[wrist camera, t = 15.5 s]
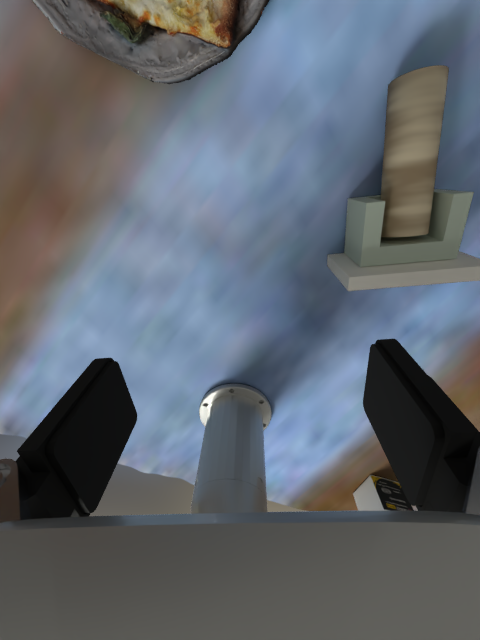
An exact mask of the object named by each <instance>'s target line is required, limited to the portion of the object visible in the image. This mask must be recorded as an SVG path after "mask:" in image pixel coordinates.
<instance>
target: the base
mask: <svg viewBox="0 0 480 640" xmlns="http://www.w3.org/2000/svg"><path fill="white" fill-rule="evenodd" d="M327 266H328V267H329V269H330V270H331V271H332V272H333V273H334V275H335V276H336V277H337V278H338V279H339V281H340V282H341V283H342V284H343V286H344V287H345V288H346V289H347V290H348V291H355V290H368V289H380V288H392V287H405V286H417V285H429V284H442V283H454V282H466V281H479V280H480V259H479V258H476V257H474V256H471V255H468V254H465V253H463V252H460V251H458V255H457V259H447V260H435V261H424V262H412V263H401V264H389V265H378V266H367V267H360V266H358V265H357V264H356V263H355V262H354V261H353V260H351V259H350V258H349V257H348V256H347V255H346V254H344V253H340V254H329V255H328V258H327Z"/></svg>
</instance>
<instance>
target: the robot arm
mask: <svg viewBox="0 0 480 640" xmlns="http://www.w3.org/2000/svg"><path fill="white" fill-rule="evenodd" d="M363 406H364V410H365V412H366V415H367V417H368V419H369V421H370V423H371V425H372V427H373V429H374V431H375V433H376V435H377V438H378V440H379V442H380V444H381V446H382V448H383V450H384V452H385V454H386V456H387V458H388V460H389V463H390V465H391V467H392V469H393V471H394V473H395V475H396V477H397V479H398V481H399V483H400V485H401V488H402V490H403V492H404V494H405V496H406V498H407V500H408V502H409V503H410V504H411V505H412V506H415V505H416V507H417V509H418V511H309V512H267V497H266V476H265V455H264V435H263V431H264V430H265V429H266V428H267V426H268V425H269V423H270V420H271V406H270V403H269V401H268V399H267V398H266V397H265V396H264V395H263V394H262V393H261V392H260V391H258V390H257V389H255V388H253V387H251V386H247V385H243V384H225V385H221V386H218V387H216V388H214V389H212V390H210V391H209V392H208V393H207V394H206V395H205V396H204V397H203V399H202V401H201V404H200V408H199V415H200V419H201V421H202V423H203V425H204V426H205V432H204V437H203V443H202V448H201V454H200V459H199V465H198V471H197V476H196V482H195V487H194V493H193V499H192V504H191V514H165V515H164V514H161V515H124V516H93V517H92V516H89V515H90V513H92V512H94V510H96V508H97V506H98V504H99V502H100V500H101V497H102V495H103V493H104V491H105V489H106V487H107V484H108V482H109V480H110V478H111V476H112V474H113V471H114V469H115V467H116V465H117V463H118V461H119V458H120V456H121V454H122V452H123V450H124V448H125V445H126V443H127V441H128V439H129V437H130V434H131V432H132V430H133V428H134V426H135V424H136V421H137V412H136V409H135V407H134V404H133V401H132V399H131V396H130V393H129V391H128V388H127V385H126V383H125V380H124V377H123V374H122V372H121V369H120V366H119V364H118V362H116V361H114V360H113V359H112V358H101V359H95V360H93V361H92V362H91V364H90V365H89V366H88V367H87V368H86V370H85V371H84V372H83V373H82V374H81V376H80V377H79V378H78V379H77V380H76V381H75V383H74V384H73V385H72V386H71V387H70V389H69V390H68V391H67V392H66V393H65V395H64V396H63V397H62V398H61V399H60V400H59V402H58V403H57V404H56V405H55V406H54V408H53V409H52V410H51V411H50V412H49V413H48V415H47V416H46V417H45V418H44V419H43V421H42V422H41V423H40V424H39V425H38V427H37V428H36V429H35V430H34V431H33V432H32V434H31V435H30V436H29V437H28V438H27V440H26V441H25V442H24V443H23V444H22V446H21V447H20V448H19V449H18V450H17V452H18V453H19V455H20V457H19V458H18V459H17V460H16V461H14V460H12V459H1V460H0V640H480V432H479V431H478V430H477V429H476V428H475V427H474V425H473V424H472V423H471V422H470V421H469V420H468V419H467V418H466V416H465V415H464V414H463V413H462V412H461V411H460V410H459V408H458V407H457V406H456V405H455V404H454V403H453V402H452V401H451V399H450V398H449V397H448V396H447V395H446V394H445V393H444V391H443V390H442V389H441V388H440V387H439V386H438V385H437V384H436V382H435V381H434V380H433V379H432V378H431V377H430V376H428V375H427V374H426V373H425V372H424V371H423V370H422V368H421V367H420V366H419V365H418V364H417V363H416V362H415V360H414V359H413V358H412V357H411V356H410V355H409V354H408V352H407V351H406V350H405V349H404V348H403V347H402V346H401V344H400V343H399V342H398V341H397V340H396V339H383V340H377V341H376V343H375V344H372V345H371V347H370V353H369V361H368V368H367V376H366V383H365V391H364V398H363Z"/></svg>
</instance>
